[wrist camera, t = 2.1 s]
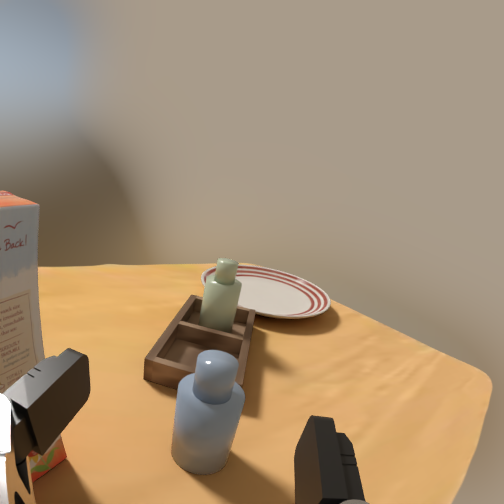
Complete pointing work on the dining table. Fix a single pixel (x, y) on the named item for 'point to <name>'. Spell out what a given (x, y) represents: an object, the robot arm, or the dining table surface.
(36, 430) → the robot arm
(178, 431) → the blue bottle
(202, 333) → the caddy
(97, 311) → the dining table surface
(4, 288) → the cracker box
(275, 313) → the dinner plate
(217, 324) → the green bottle
